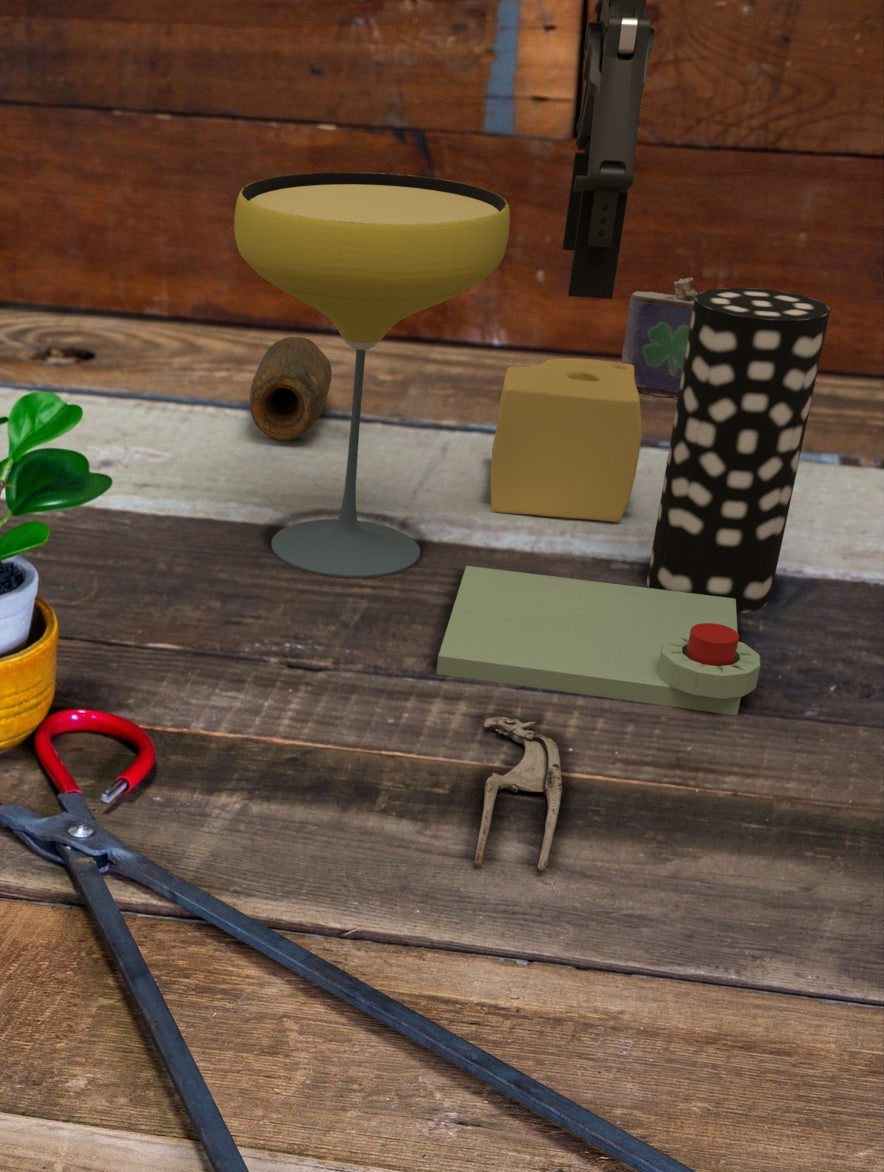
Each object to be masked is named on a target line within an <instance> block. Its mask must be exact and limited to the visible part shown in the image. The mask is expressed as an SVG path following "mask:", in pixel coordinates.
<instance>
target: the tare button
mask: <svg viewBox="0 0 884 1172" xmlns="http://www.w3.org/2000/svg"><path fill="white" fill-rule="evenodd" d="M739 639H740V635H739V632H738V633H737V632H736V631H735V630H733V629H732V628H730V627H727V626H724V625H720V624H714V623H701V624H697V625H694V626H693V627H692V628H691V631H690V636H689V641H688V647H687V652H686V656H687V657H688V658H689V659H690V660H693V661H695V662H698V663H701V664H704V665H711V666H726V665H732V664H733V663H734V660H735V655H736V650H737V645H738V641H739Z"/></svg>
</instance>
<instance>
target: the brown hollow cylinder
mask: <svg viewBox="0 0 884 1172" xmlns="http://www.w3.org/2000/svg"><path fill="white" fill-rule="evenodd" d="M332 378H333V377H332V366H331V363H330V360H329V358H328V357H327V356H326V354H325V353H324V352H323V351H322V350H321V349H320V347H318V345H317V344H316V343H315V342H313V340H311V339H308V338H306V337H301V336H289V337H285V338H282V339H279V340H278V341H276V342H275V343H273V344H271V345H270V347H269V348H268V349H267V350H266V352H265V353H264V355H263V357H262V359H261V361H260V363H259V366H258V368H257V370H256V372H255V374H254V376H253V379H252V382H251V386H250V390H249V412H250V416H251V419H252V420H253V422H254V424H255V426H256V427H257V429H258V430H259V431H260V432H261V433H263V434H264V435H266V436H268V437H271V438H274V439H276V440H278V441H285V442H286V441H292V440H296V439H297V438H299V437H301V436H303V435H304V434H306V433H307V432H308V431H309V430H310V429H311V428H313V426H314V425H315V424H316V423H317V421H318V420H319V418H320V417H321V414H322V413H323V410H324V407H325V404H326V402H327V398H328V395H329V391H330V387H331V382H332Z"/></svg>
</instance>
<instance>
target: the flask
mask: <svg viewBox="0 0 884 1172" xmlns="http://www.w3.org/2000/svg"><path fill="white" fill-rule="evenodd" d="M693 281H694V278H693V277H685V278H684V279H683V278H679V280H678V281H676V280H674V282H673V286H674V287H676V288H675V292H674V294H667V293H661V292H656V291H655V292H654V291H635V292H633V293H632V294H631V295H630V298H629V306H628V308H629V309H628V317H627V323H626V328H625V329H626V330H625V336H624V342H623V345H622V352H621V353H622V355H621V361H620V363H622V364H631V365H633V366H634V379H635V384H636V387H637V390H638V393H644V394H649V395H651V396H656V397H657V396H659V397H671V398H673V399H676V400H678V394H679V388H680V382H681V377H682V371H683V365H684V359H685V353H686V347H687V341H688V335H689V329H690V324H691V318H692V312H693V306H694V300H695V296H696V295H697V294H698V293H699V292H697V291H696V290H695V289H693V288H691V286H690V285H691V282H693Z"/></svg>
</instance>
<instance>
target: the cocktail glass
mask: <svg viewBox="0 0 884 1172" xmlns="http://www.w3.org/2000/svg"><path fill="white" fill-rule="evenodd" d="M510 214H511V213H510V207H509V204H508V202H507V200H506V199H505V198H504V197H502V196H501V195H500V194H498V193H495V192H493V191H491V190H489V189H486V188H483V187H479V186H476V185H472V184H469V183H468V184H467V183H464V182H459V181H454V180H447V179H442V178H435V177H428V176H419V175H411V174H400V173H399V174H398V173H386V172H385V173H383V172H362V171H361V172H360V171H359V172H357V171H355V172H353V171H349V172H348V171H345V172H344V171H341V172H339V171H338V172H337V171H335V172H333V171H332V172H311V173H310V172H309V173H296V174H288V175H280V176H274V177H268V178H263V179H260V180H256V181H253V182H251V183H248V184H246V185H245V186H244V187H243V188H241V190H240V192H239V194H238V196H237V200H236V203H235V209H234V218H233V219H234V223H233V224H234V225H233V227H234V228H233V230H234V238H235V243H236V245H237V250H238V252H239V254H240V256H241V257H242V259H243V260H244V261H245V262H246V263H247V264H248V265H249V267H250V268H251V269H252V270H254V271H255V272H256V273H257V274H258V275H259V276H260V277H261V278H262V279H263V280H265V281H267V283H269V284H271V285H273V286H274V287H276V288H278V289H279V290H281V291H283V292H284V293H286V294H288V295H289V296H291V297H292V298H295V299H297V300H299V301H300V302H302V303H304V304H306V305H308V306H310V307H311V308H313V309H315V310H317V311H318V312H320V313H321V314H323V315H324V316H325V317H327V318H328V319H329V320H330V321H331V322H332V324H333V325H334V327H335V328H336V329H337V331H338V333H339V334H340V336H341V337H342V339H343V340H344V343H346V344H347V345H348V346H349V347H350V348H352V349H354V350H355V363H354V364H355V365H354V377H353V391H352V405H351V415H350V416H351V417H350V428H349V439H348V449H347V450H348V451H347V462H346V471H345V480H344V481H345V483H344V490H343V496H342V501H341V507H340V511H339V514H338V518H325V519H315V520H314V519H313V520H308V521H301V522H298V523H295V524H294V523H293V524H291V525H288V526H286V527H284V528H282V529H280V530H279V531H278V532H276V533H275V534H274V536H273V537H272V538H271V544H270V545H271V550H272V552H273V554H274V555H275V556H276V557H277V559H279V560H280V561H282V562H283V563H285V564H287V565H289V566H290V567H293V568H295V569H298V570H301V571H303V572H307V573H310V574H314V575H319V576H325V577H330V578H331V577H332V578H340V579H341V578H342V579H369V578H379V577H380V578H381V577H386V576H387V577H388V576H391V575H395V574H399V573H401V572H404V571H406V570H408V569H410V568H412V567H413V566H414V565H415V564H417V562H418V561H419V560H420V557H421V548H420V545H419V544H418V542H417V541H416V540H415V539H414V538H413V537H411V536H409V534H406V533H405V532H402V531H401V530H398V529H396V528H393V527H391V526H388V525H383V524H380V523H376V522H371V521H366V520H365V521H364V520H359V519H358V515H357V513H358V512H357V475H358V474H357V473H358V471H357V470H358V458H359V457H358V455H359V442H360V441H359V440H360V425H361V413H362V412H361V411H362V398H363V386H364V374H365V363H366V350H367V351H368V350H371V349H373V348H374V347H376V346H377V345H378V344H379V343H380V342H381V341H382V340H383V339H384V337H386V336H387V334H388V333H389V331H391V329H392V328H393V327H394V326H395V325H396V324H397V323H399V322H400V321H402V320H404V319H406V318H407V317H410V316H412V315H415V314H416V313H418V312H421V311H424V310H427V309H428V308H429V309H430V308H431V307H434V306H437V305H439V304H442V303H444V302H446V301H448V300H451V299H453V298H455V297H457V296H459V295H461V294H463V293H465V292H467V291H469V290H471V289H473V288H474V287H476V286H477V285H479V284H480V283H481V282H483V281H485V279H486V278H488V277H489V276H490V275H491V274H493V272H494V271H496V269H497V268H498V267H499V266H500V264H501V263H502V261H503V260H504V257H505V254H506V251H507V246H508V241H509V234H510V224H511V215H510Z"/></svg>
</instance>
